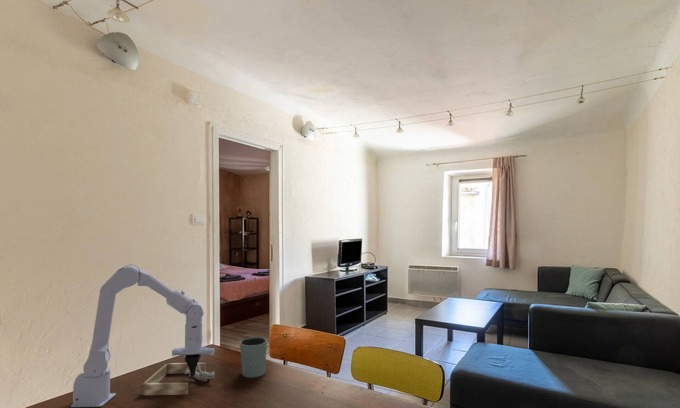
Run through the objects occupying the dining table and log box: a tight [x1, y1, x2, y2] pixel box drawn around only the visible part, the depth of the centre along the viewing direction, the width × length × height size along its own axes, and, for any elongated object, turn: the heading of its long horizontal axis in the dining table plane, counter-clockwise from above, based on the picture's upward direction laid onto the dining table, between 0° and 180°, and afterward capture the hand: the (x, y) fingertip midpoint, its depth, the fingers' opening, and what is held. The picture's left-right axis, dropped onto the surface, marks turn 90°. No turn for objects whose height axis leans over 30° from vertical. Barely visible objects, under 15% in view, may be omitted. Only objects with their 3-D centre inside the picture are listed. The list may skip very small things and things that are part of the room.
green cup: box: [239, 336, 268, 379], centre depth 137 cm, size 10×10×12 cm
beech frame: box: [140, 362, 207, 396], centre depth 129 cm, size 15×18×4 cm
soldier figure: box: [184, 364, 216, 381], centre depth 131 cm, size 8×5×12 cm
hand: (193, 375), depth 129 cm, fingers closed, pressing on soldier figure
